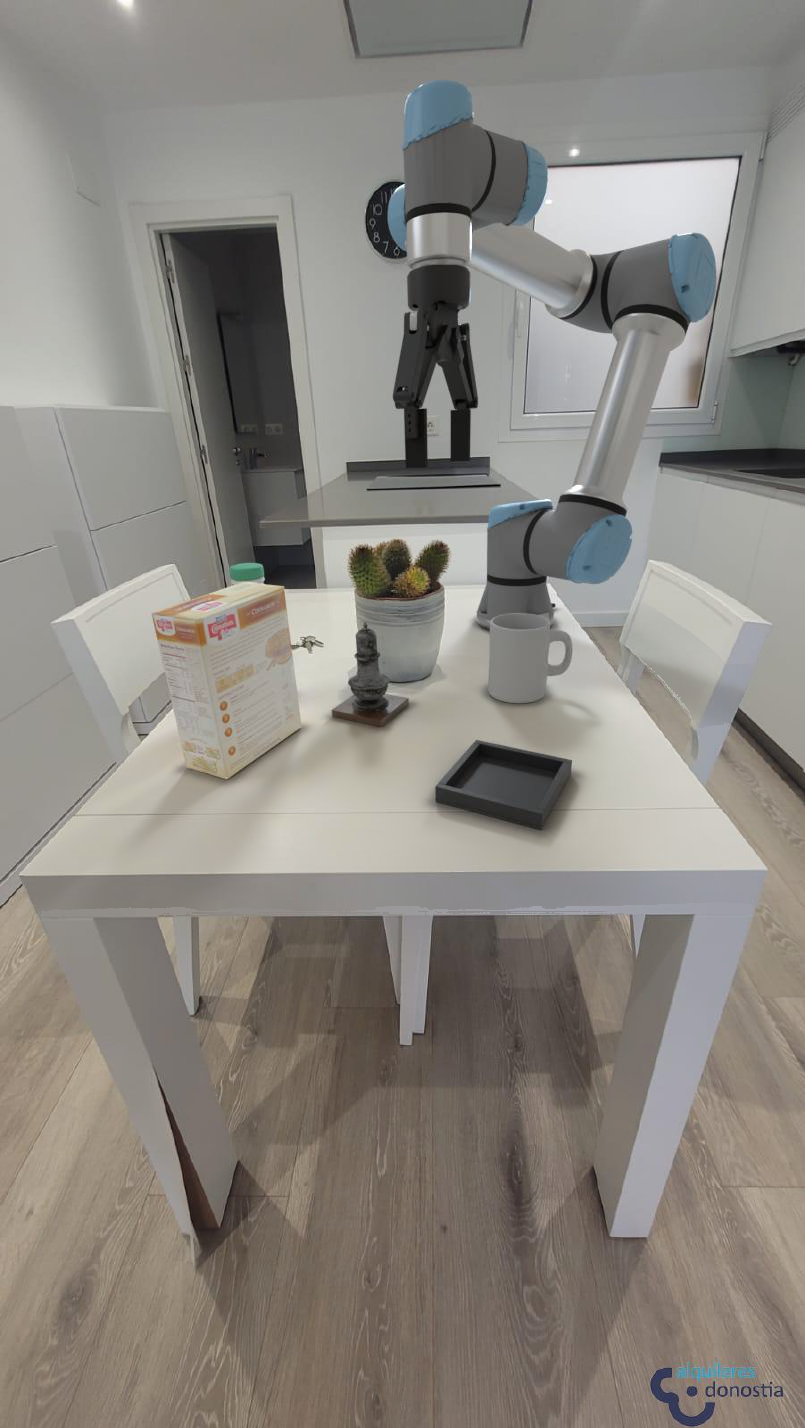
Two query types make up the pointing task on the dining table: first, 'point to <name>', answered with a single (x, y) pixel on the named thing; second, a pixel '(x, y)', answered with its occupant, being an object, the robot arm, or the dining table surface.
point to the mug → (523, 657)
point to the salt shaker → (368, 674)
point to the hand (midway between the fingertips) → (439, 464)
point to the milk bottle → (247, 573)
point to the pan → (505, 783)
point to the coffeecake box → (229, 675)
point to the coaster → (374, 717)
